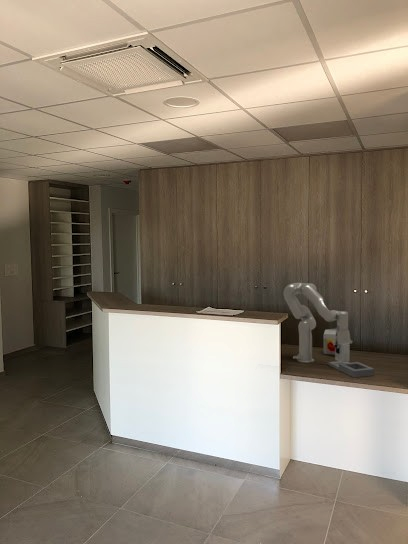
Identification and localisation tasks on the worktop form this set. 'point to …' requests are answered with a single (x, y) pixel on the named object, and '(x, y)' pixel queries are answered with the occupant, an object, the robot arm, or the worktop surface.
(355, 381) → the worktop surface
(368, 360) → the worktop surface
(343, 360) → the small box
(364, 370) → the case
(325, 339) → the electrical switch box
